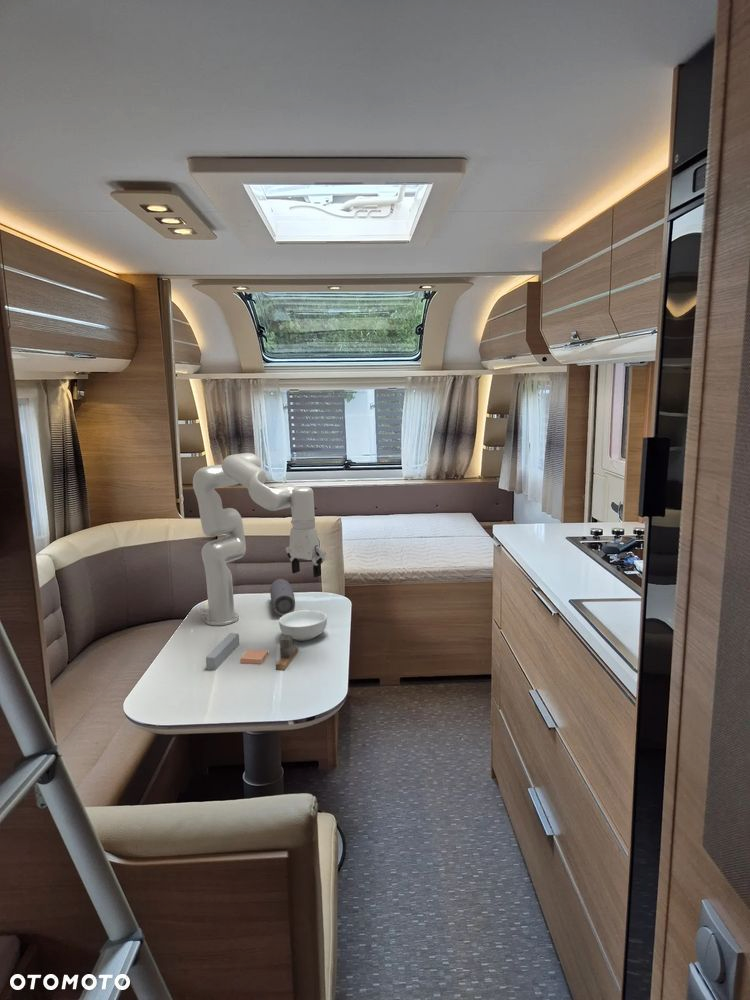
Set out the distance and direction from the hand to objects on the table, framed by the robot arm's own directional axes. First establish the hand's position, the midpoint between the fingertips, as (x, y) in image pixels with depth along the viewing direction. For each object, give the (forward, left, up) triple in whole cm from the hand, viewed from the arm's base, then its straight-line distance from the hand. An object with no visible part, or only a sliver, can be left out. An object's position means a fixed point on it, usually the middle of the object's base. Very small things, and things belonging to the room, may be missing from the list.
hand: (306, 574), depth 203 cm
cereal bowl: (-4, +7, -25) cm, 26 cm away
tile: (-15, -13, -25) cm, 32 cm away
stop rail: (-26, -12, -25) cm, 38 cm away
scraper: (-4, -13, -25) cm, 29 cm away
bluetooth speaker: (-20, +34, -25) cm, 47 cm away
